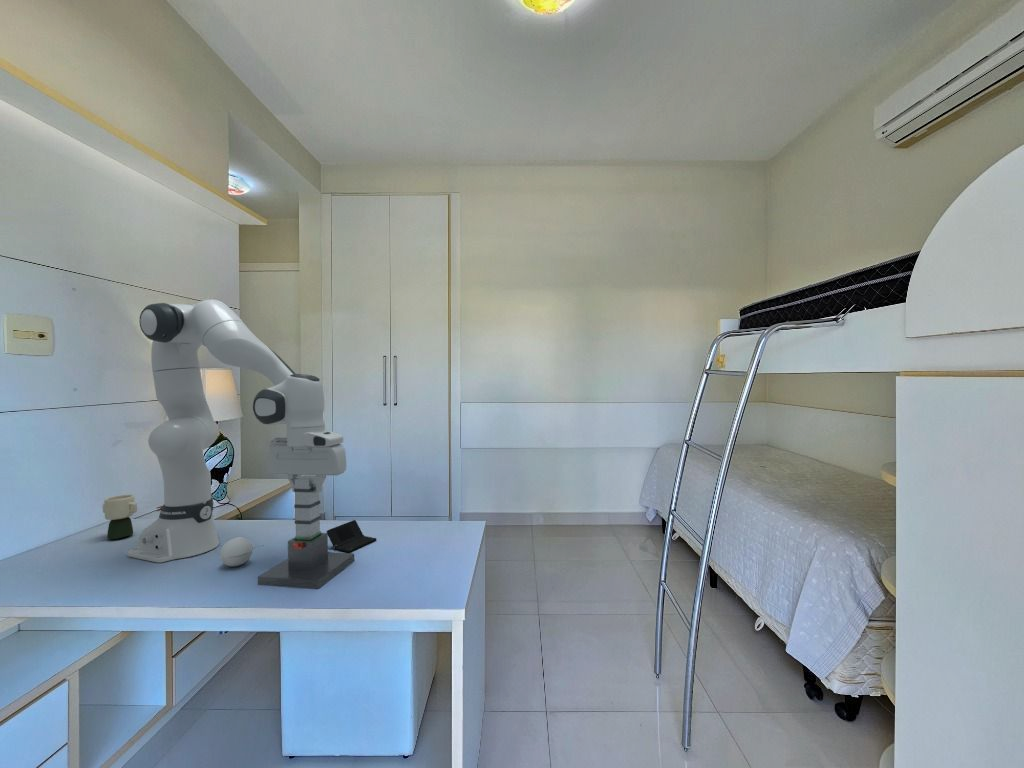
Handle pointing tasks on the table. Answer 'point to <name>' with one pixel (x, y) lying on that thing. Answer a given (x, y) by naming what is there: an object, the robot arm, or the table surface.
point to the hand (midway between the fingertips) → (307, 491)
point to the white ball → (236, 551)
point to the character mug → (119, 515)
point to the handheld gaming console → (348, 537)
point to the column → (306, 509)
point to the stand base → (307, 565)
